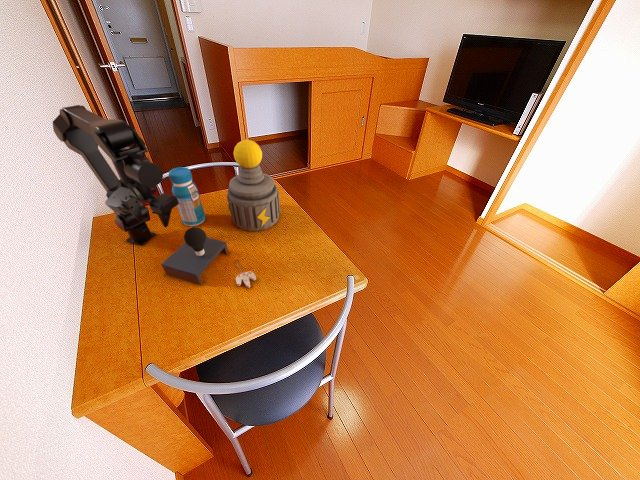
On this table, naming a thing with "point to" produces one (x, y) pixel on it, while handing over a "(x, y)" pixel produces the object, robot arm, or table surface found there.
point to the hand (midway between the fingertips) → (153, 223)
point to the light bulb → (195, 239)
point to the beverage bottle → (187, 196)
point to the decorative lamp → (252, 191)
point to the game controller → (245, 278)
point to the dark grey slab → (193, 260)
